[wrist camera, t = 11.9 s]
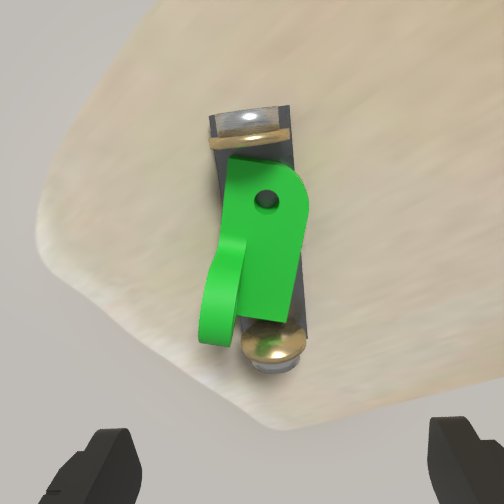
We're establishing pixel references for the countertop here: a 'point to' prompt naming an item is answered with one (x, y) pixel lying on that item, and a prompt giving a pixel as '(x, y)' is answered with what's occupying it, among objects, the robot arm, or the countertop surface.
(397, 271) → the countertop surface
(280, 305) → the mechanical part
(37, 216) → the countertop surface
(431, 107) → the countertop surface
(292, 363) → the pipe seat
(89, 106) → the countertop surface
